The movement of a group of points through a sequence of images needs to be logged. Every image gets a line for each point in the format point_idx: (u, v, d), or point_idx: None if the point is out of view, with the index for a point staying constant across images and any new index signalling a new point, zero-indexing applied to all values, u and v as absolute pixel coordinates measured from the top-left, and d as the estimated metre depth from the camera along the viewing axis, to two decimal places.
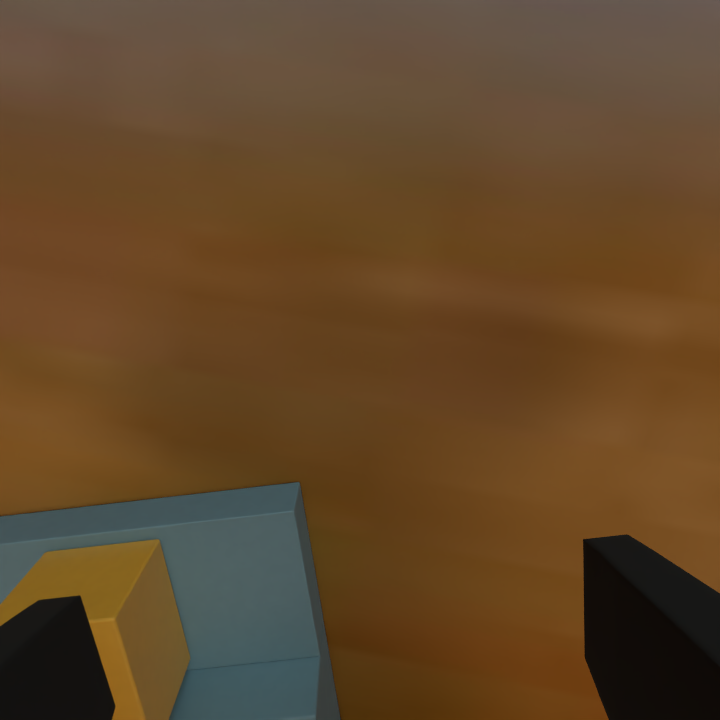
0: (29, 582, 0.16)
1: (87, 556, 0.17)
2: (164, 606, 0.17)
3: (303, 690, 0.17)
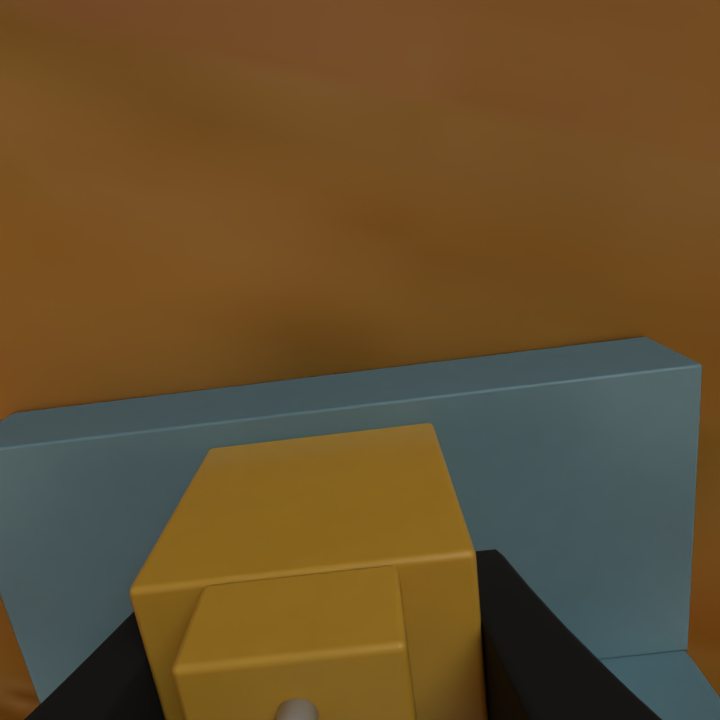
0: (206, 493, 0.07)
1: (304, 450, 0.08)
2: None
3: (704, 715, 0.09)
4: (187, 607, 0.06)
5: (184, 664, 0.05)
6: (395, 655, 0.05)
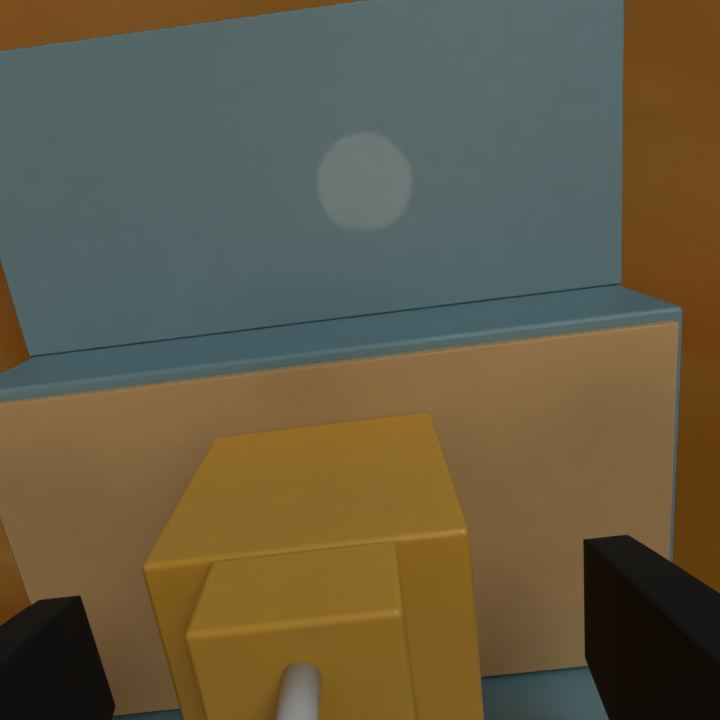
0: (213, 478, 0.08)
1: (306, 439, 0.09)
2: None
3: (629, 298, 0.10)
4: (197, 582, 0.06)
5: (196, 630, 0.05)
6: (393, 621, 0.05)
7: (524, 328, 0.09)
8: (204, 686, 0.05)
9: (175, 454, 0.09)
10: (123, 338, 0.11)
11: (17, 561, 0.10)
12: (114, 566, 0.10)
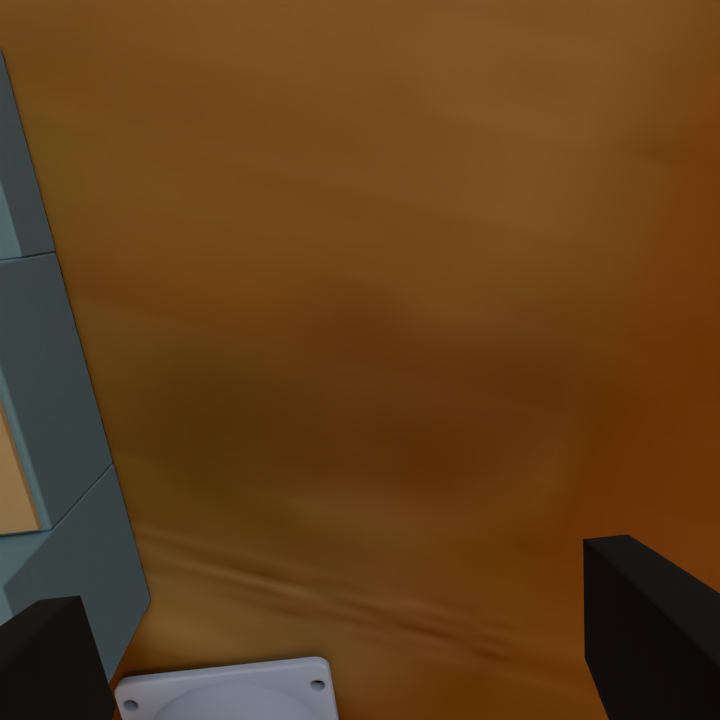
0: None
1: None
2: None
3: None
4: None
5: None
6: None
7: None
8: None
9: None
10: None
11: None
12: None
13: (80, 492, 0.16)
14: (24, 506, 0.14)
